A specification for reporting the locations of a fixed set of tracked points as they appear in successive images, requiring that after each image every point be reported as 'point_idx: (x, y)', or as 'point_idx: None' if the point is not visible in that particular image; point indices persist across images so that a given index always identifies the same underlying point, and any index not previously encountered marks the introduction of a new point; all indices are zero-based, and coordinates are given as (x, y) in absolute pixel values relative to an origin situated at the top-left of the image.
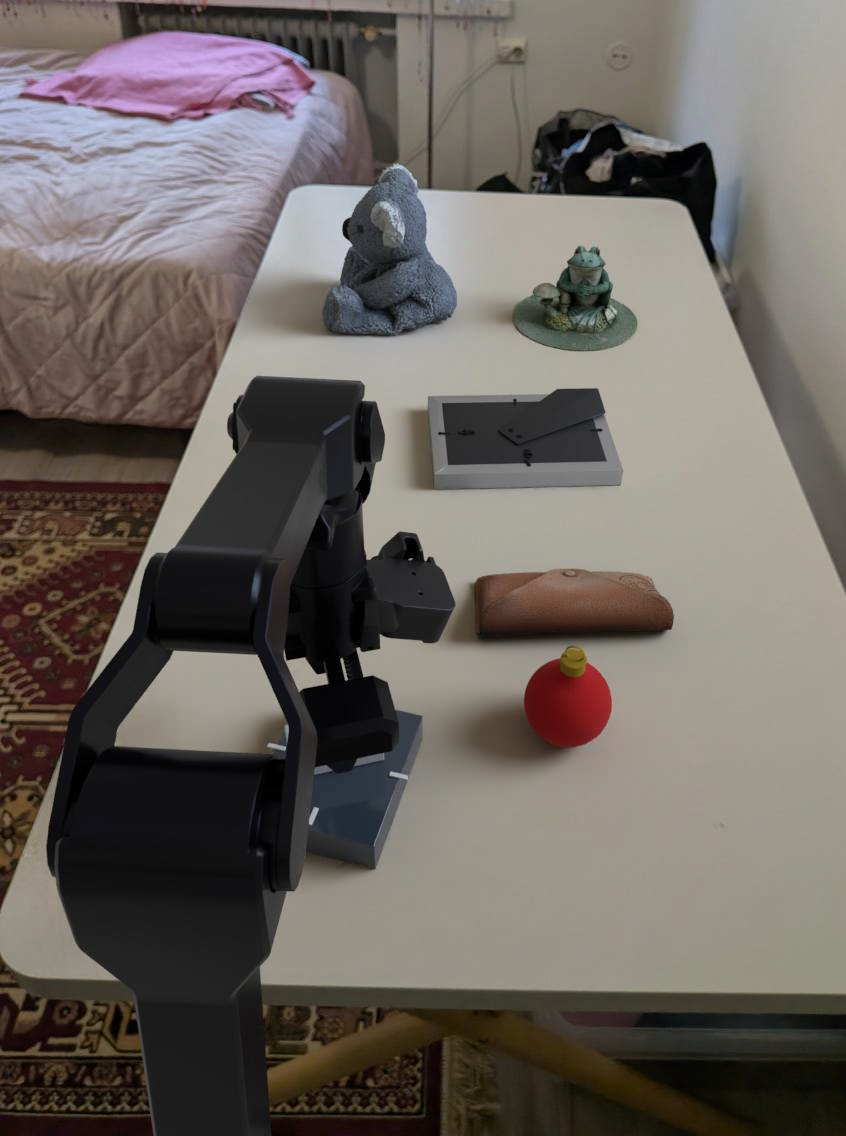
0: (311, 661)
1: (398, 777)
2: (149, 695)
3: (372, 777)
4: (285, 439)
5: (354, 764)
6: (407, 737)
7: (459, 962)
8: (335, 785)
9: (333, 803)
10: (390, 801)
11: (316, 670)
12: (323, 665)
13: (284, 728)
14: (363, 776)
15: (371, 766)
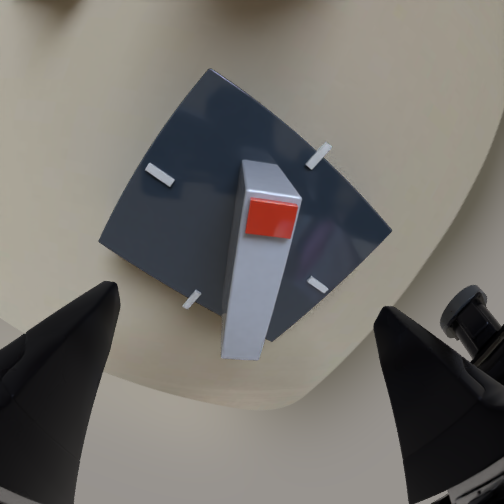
0: (107, 347)
1: (322, 157)
2: None
3: (299, 193)
4: None
5: (413, 320)
6: (246, 109)
7: (465, 180)
8: None
9: (313, 257)
10: (351, 185)
11: (116, 316)
12: (109, 311)
13: (227, 358)
14: None
15: None
